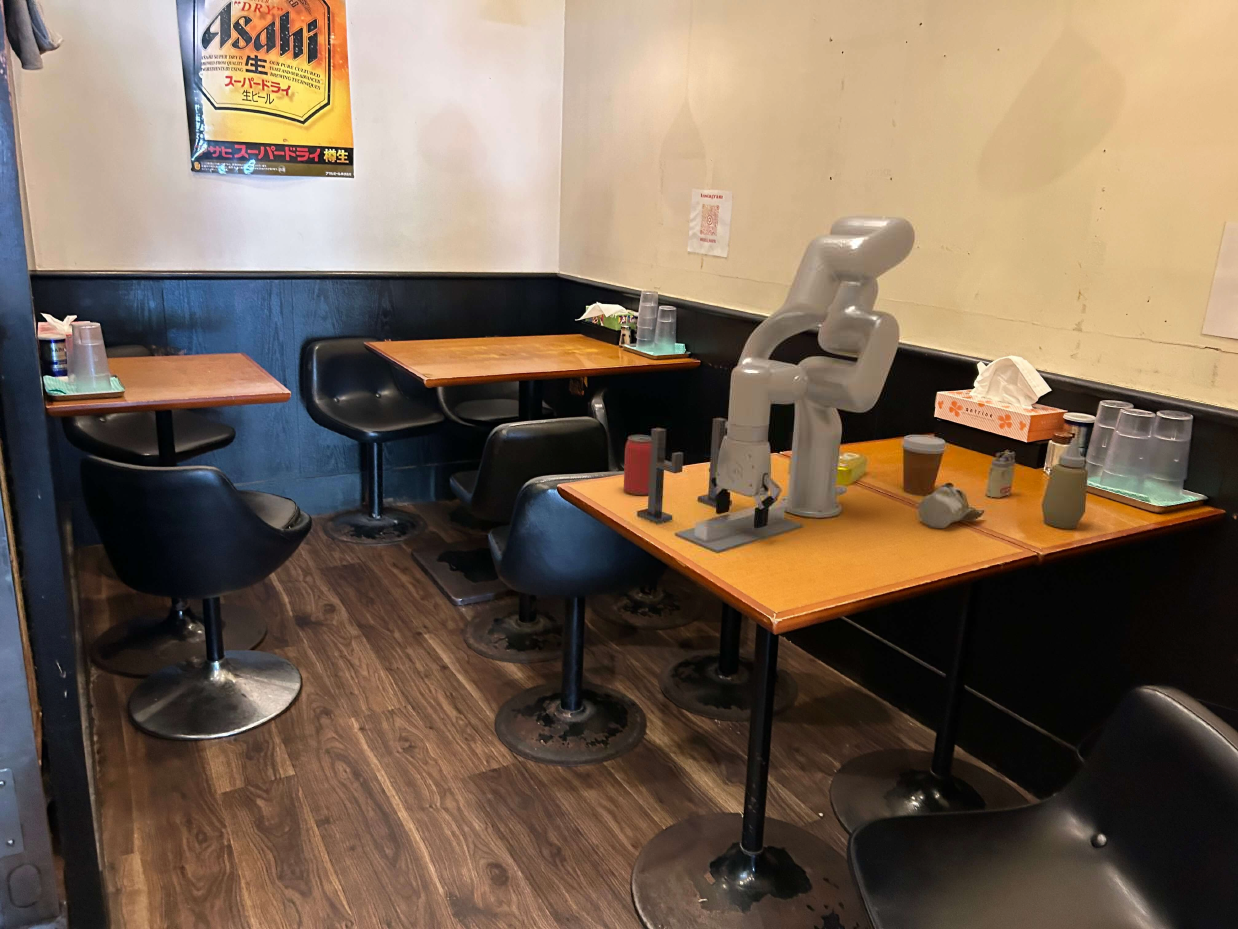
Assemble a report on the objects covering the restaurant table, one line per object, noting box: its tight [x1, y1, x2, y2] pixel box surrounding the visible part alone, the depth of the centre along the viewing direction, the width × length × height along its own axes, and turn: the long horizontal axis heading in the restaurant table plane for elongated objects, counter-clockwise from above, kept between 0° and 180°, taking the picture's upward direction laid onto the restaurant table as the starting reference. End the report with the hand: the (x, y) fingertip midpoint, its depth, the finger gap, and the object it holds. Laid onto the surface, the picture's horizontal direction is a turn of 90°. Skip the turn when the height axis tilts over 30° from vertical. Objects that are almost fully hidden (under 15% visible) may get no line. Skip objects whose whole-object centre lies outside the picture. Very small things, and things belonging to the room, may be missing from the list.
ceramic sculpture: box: [918, 482, 985, 529], centre depth 178 cm, size 11×9×15 cm
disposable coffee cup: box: [901, 434, 947, 496], centre depth 198 cm, size 10×10×12 cm
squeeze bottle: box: [1041, 437, 1089, 529], centre depth 178 cm, size 8×8×18 cm
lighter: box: [985, 449, 1016, 498], centre depth 197 cm, size 7×4×10 cm, turn 129°
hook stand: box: [636, 417, 733, 525], centre depth 177 cm, size 21×9×18 cm, turn 130°
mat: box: [674, 517, 804, 554], centre depth 169 cm, size 24×11×1 cm, turn 130°
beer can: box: [623, 434, 651, 496], centre depth 190 cm, size 7×7×12 cm
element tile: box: [788, 451, 868, 487], centre depth 210 cm, size 15×15×5 cm
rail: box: [694, 501, 786, 543], centre depth 169 cm, size 22×3×3 cm, turn 130°
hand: (740, 519), depth 169 cm, fingers open, 9 cm apart
